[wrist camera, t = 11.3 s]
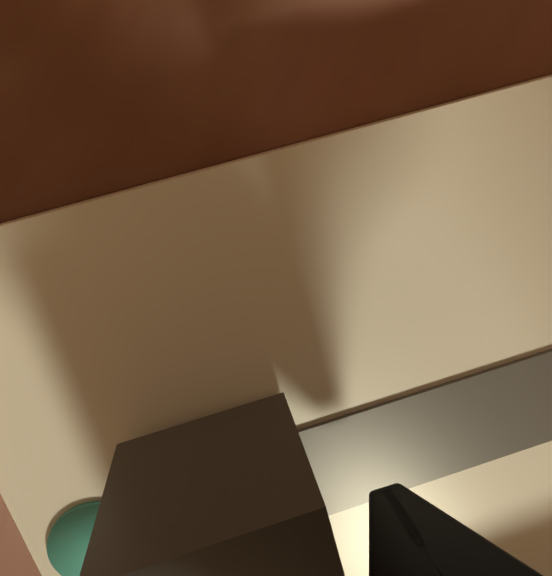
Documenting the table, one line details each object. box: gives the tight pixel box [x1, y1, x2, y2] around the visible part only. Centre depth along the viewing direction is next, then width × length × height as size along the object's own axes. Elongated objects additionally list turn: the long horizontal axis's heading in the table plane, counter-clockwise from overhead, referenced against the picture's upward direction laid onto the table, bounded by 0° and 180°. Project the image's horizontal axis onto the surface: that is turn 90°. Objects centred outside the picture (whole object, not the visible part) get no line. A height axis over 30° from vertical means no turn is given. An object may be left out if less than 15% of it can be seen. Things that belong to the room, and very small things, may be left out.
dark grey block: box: [80, 392, 345, 576], centre depth 8 cm, size 3×4×3 cm
